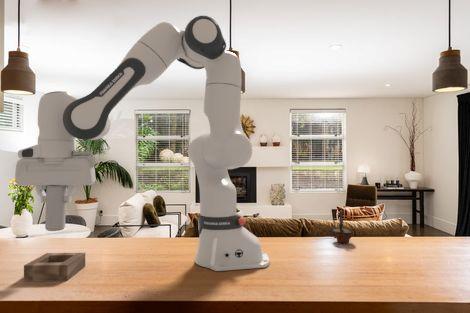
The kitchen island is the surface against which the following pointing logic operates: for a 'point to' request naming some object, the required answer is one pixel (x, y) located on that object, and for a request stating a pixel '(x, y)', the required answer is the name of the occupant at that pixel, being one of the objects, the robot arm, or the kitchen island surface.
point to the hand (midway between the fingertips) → (56, 202)
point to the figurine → (341, 231)
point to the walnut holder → (54, 267)
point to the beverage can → (55, 208)
